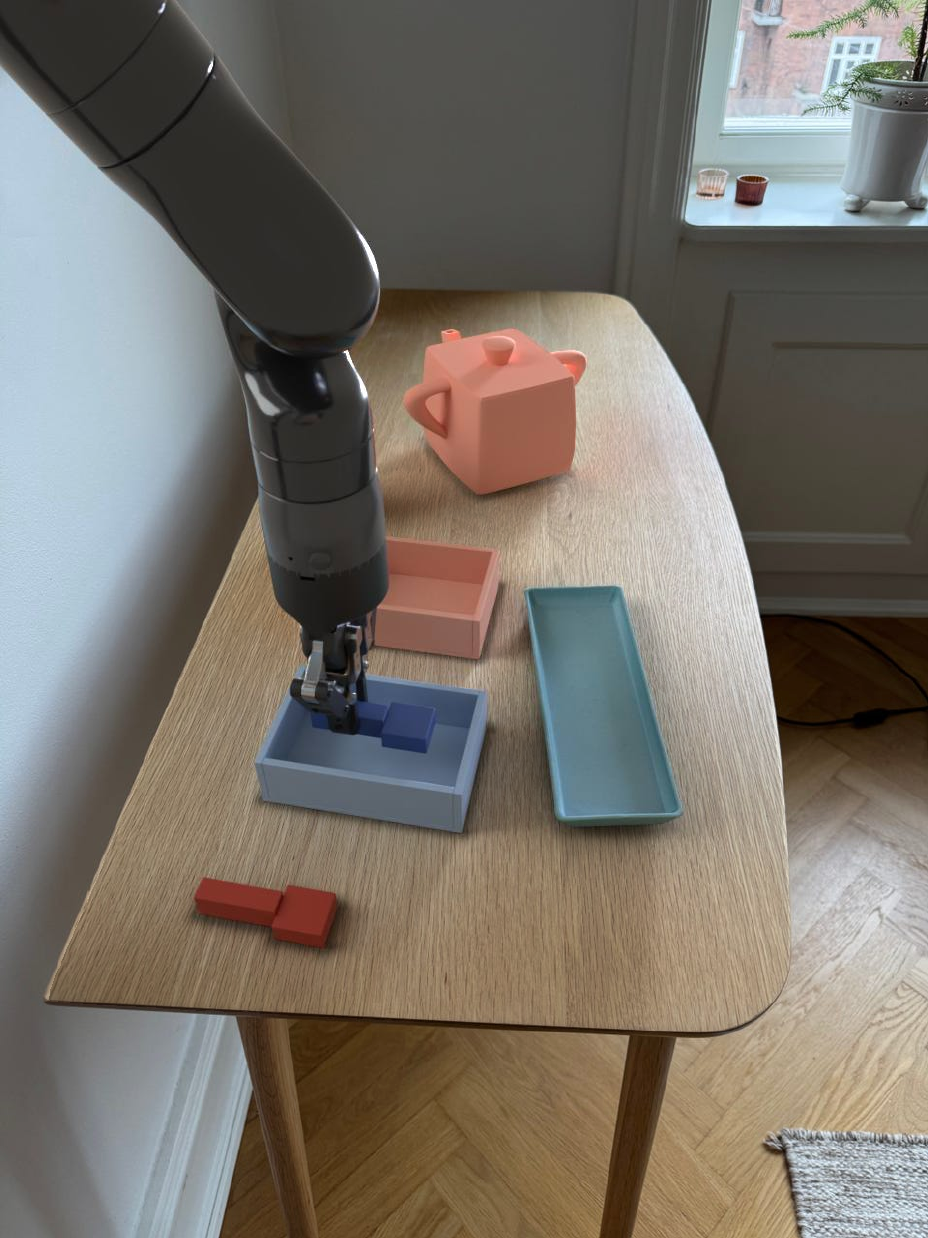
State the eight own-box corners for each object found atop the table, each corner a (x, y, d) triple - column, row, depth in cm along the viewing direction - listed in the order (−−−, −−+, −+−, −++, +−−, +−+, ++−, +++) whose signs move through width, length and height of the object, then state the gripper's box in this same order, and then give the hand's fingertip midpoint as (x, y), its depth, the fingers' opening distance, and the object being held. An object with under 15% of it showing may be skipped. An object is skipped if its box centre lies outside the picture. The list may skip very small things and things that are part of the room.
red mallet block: (194, 924, 61) (188, 908, 60) (213, 883, 63) (207, 866, 62) (323, 948, 60) (320, 933, 58) (338, 905, 62) (335, 889, 61)
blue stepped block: (308, 735, 68) (305, 717, 67) (321, 704, 70) (319, 686, 69) (426, 754, 67) (426, 736, 65) (435, 722, 69) (435, 704, 68)
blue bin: (262, 800, 68) (253, 762, 66) (306, 702, 76) (299, 664, 73) (461, 833, 66) (461, 795, 63) (486, 729, 74) (487, 690, 71)
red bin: (312, 637, 82) (306, 598, 79) (345, 567, 89) (341, 530, 86) (479, 659, 80) (479, 621, 77) (498, 586, 87) (499, 549, 84)
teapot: (613, 465, 103) (627, 349, 94) (436, 515, 96) (433, 394, 87) (527, 389, 117) (532, 281, 107) (366, 428, 109) (357, 316, 100)
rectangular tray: (522, 603, 85) (523, 583, 84) (619, 601, 86) (622, 580, 84) (553, 841, 66) (555, 820, 64) (679, 836, 66) (685, 816, 64)
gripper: (303, 467, 62) (328, 650, 74) (226, 594, 52) (269, 784, 64) (409, 478, 61) (419, 663, 73) (352, 611, 51) (373, 800, 63)
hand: (349, 719), depth 68 cm, fingers closed on blue stepped block, 1 cm apart
